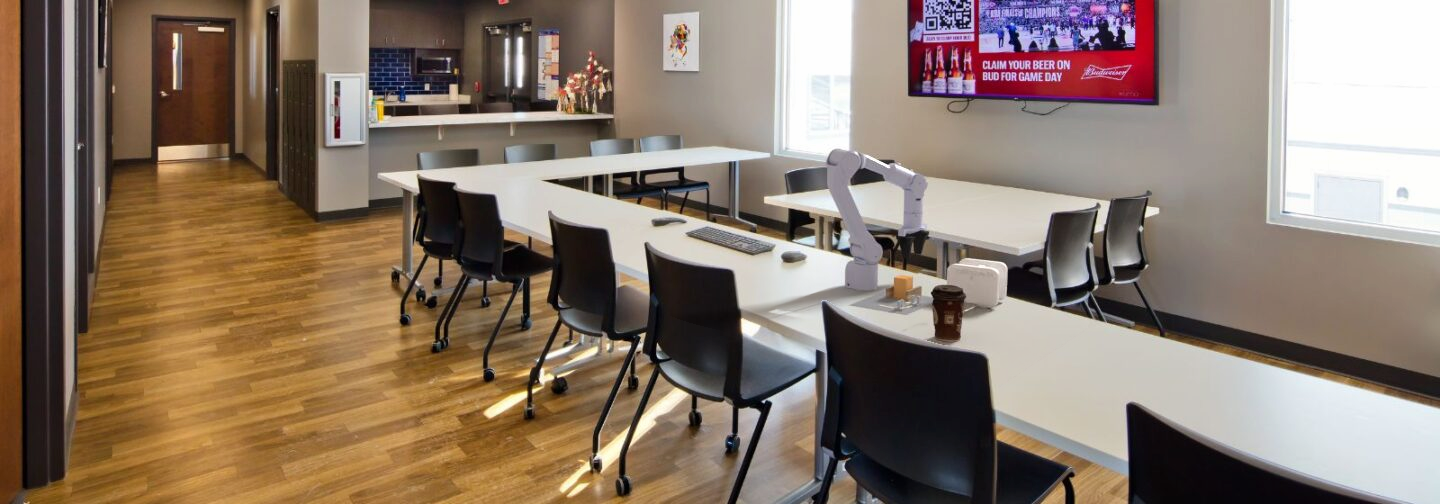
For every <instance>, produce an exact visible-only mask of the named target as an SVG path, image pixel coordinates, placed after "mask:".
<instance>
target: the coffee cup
mask: <svg viewBox="0 0 1440 504" xmlns="http://www.w3.org/2000/svg"><path fill="white" fill-rule="evenodd" d="M930 295H931V297H933V302H932V304H931V309H932V310H931V311H932V319H933V320H932V321H933V322H932V323H933V327H934V338H935V339H936V340H938V341H942V342H947V343H954V341H955V342H958V341H957V340H959V341H961V338H962V336H961V335H962V334H961V333H962V325H963V318H964V317H963V316H964V309H965V302H964V300H965V298H966V294H965V293H964V292H963V289H962V288H960V287H958V286H955V285H947V284H938V285H936V286H934V287H933V288H932V291H930Z"/></svg>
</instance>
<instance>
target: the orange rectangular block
mask: <svg viewBox="0 0 1440 504" xmlns="http://www.w3.org/2000/svg"><path fill="white" fill-rule="evenodd" d="M893 285H894V298H899V299H906V291H908V290H910V289H913V288H914V287H913V286H914V277H913V276H911V275H906V274H905V275H904V274H900V275H897V276H894V277H893Z"/></svg>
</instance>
